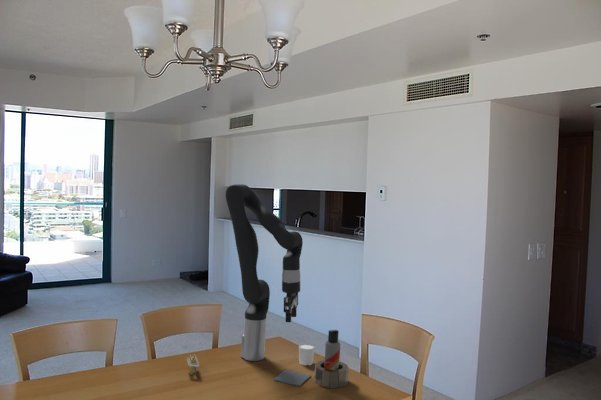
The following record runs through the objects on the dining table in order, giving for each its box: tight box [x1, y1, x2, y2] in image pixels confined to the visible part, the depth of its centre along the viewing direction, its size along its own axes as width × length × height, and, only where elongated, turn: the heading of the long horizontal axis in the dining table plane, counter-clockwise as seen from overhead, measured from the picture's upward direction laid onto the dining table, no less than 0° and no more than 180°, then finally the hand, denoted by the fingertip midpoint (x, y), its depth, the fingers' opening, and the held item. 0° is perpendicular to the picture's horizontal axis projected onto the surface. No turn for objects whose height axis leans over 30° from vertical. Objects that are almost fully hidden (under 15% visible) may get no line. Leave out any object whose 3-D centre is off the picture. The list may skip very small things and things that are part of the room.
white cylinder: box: [298, 344, 316, 367], centre depth 206 cm, size 7×7×7 cm
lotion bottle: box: [324, 329, 341, 370], centre depth 188 cm, size 6×6×20 cm
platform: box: [186, 353, 200, 377], centre depth 190 cm, size 12×18×7 cm, turn 19°
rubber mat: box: [273, 369, 312, 387], centre depth 189 cm, size 11×11×1 cm
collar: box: [313, 359, 349, 389], centre depth 188 cm, size 12×12×6 cm
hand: (291, 319), depth 201 cm, fingers open, 8 cm apart
